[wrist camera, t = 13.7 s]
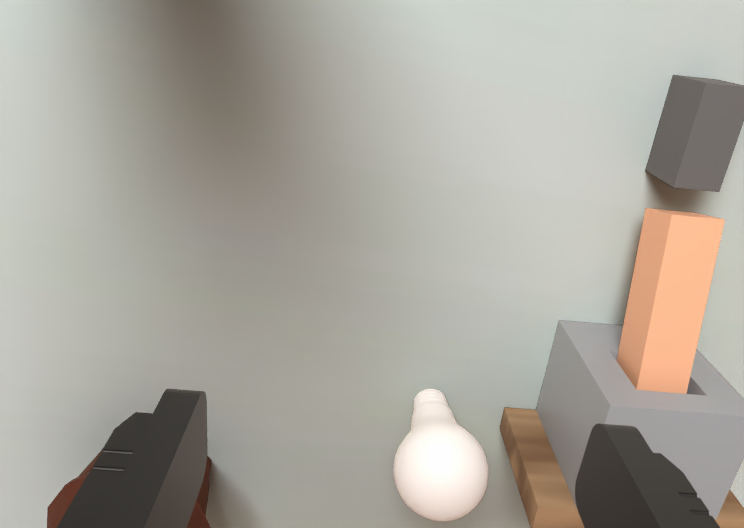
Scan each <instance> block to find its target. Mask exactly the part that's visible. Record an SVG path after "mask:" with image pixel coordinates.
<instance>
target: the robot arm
mask: <svg viewBox="0 0 744 528" xmlns="http://www.w3.org/2000/svg"><path fill="white" fill-rule="evenodd" d="M206 461H207V401H206V394H205V392H203V391H190V390H177V389H167V390H166V391H165V392H164V394H163V395H162V397H161V399H160V401H159V403H158V405H157V407H156V409H155V411H154V413H153V414H151V413H138V412H136V413H134V414H133V415H132V416H131V417H129V418H128V419H127V420H125V421H124V422H123V423H122V424H120V425H119V426H118V427H117V428H115V429H114V431H113V433H112V435H111V436H110V438H109V440H108V441H107V443H106V445H105V446H104V448H103V452H102V453H100V455H99V457H98V458H97V460H96V462H95V463H94V465H93V469H92V470H90V472H89V473H88V475H87V477H86V479H85V480H84V482H83V484H82V485H81V487H80V489H79V490H78V492H77V494H76V495H75V497H74V499H73V500H72V502H71V504H70V506H69V507H68V509H67V511H66V512H65V514H64V516H63V517H62V519H61V521H60V522H59V524H58V526H57V528H187V526H188V523H189V520H190V517H191V514H192V511H193V508H194V506H195V503H196V500H197V497H198V494H199V491H200V488H201V485H202V482H203V478H204V474H205V468H206ZM575 500H576V506H577V510H578V512H579V515H580V517H581V520H582V522H583V525H584V527H585V528H720V527H719V525H718V524H717V522H716V521H715V519H714V518H713V516H710V515H709V510H708V509H707V507H706V506H705V504H704V503H703V501H702V500H701V498H698V497H697V492H696V491H695V489H694V488H693V486H692V485H691V483H690V482H689V480H688V479H687V477H686V476H685V474H684V473H683V472H682V471H681V470H680V469H679V468H677V467H676V466H675V465H674V464H673V463H672V462H670V461H669V460H668V459H667V458H666V457H665V456H663V455H662V454H661V453H653V452H652V450H651V449H650V447H649V446H648V444H647V443H646V441H645V439H644V438H643V436H642V435H641V433H640V432H639V430H638V429H637V428H636V427H634V426H626V425H613V424H600V423H598V424H596V425H594V427H593V428H592V430H591V433H590V436H589V439H588V443H587V446H586V449H585V452H584V456H583V459H582V462H581V465H580V469H579V472H578V475H577V479H576V484H575Z"/></svg>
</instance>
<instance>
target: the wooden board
mask: <svg viewBox="0 0 744 528" xmlns="http://www.w3.org/2000/svg"><path fill="white" fill-rule="evenodd" d="M500 430H501V434H502V437H503V440H504V443H505V447H506V450H507V453H508V456H509V459H510V463H511V466H512V469H513V472H514V476H515V479H516V482H517V485H518V489H519V492H520V495H521V498H522V501H523V505H524V508H525V511H526V514H527V518H528V521H529V524H530V527H531V528H585V527H584V525H583V522H582V520H581V517H580V515H579V512H578V510H577V508H576V505H575V503H574V500H573V498H572V496H571V493H570V491H569V488H568V486H567V483H566V481H565V479H564V476H563V474H562V471H561V469H560V466H559V464H558V462H557V459H556V457H555V454H554V452H553V450H552V447H551V445H550V442H549V440H548V437H547V435H546V433H545V430H544V428H543V425H542V423H541V420H540V418H539V416H538V413H537V411H536V410H532V409H519V408H506V407H504V412H503V416H502V420H501V425H500ZM715 521H716V522H717V524H718V525H719V527H720V528H744V508H743V507H742V505H741V504H740V502H739V501H738V500H737V498H736V497H735V496H734V494H733V493H732V492H731V490H729V492H728V494H727V496H726V499H725V501H724V503H723V505H722V508H721V510H720V512H719V514H718V517H717V519H715Z"/></svg>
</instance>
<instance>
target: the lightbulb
mask: <svg viewBox="0 0 744 528" xmlns="http://www.w3.org/2000/svg"><path fill="white" fill-rule="evenodd" d="M413 409H414V413H413V415H412V419H411V430H410V432H409V433H408V434H407V435H406V437H405V438H404V440H403V441H402V443H401V444H400V446H399V447H398V450H397V452H396V456H395V460H394V466H393V470H394V480H395V483H396V486H397V489H398V492H399V494H400V496H401V497H402V499H403V500H404V502H405V503H406V504H407V505H408V506H409V507H410V508H411V509H412V510H413V511H414V512H416V513H417V514H419V515H421V516H423V517H425V518H428V519H430V520H435V521H451V520H456V519H458V518H461V517H463V516H465V515H466V514H468V513H469V512H470V511H471V510H473V509H474V508H475V507H476V506H477V504H478V503H479V502H480V500H481V499H482V497H483V495H484V493H485V491H486V486H487V482H488V463H487V459H486V456H485V453H484V451H483V449H482V447H481V446H480V444H479V442H478V441H477V440H476V439H475V437H474V436H473V435H472V434H470V433H469V432H468V431H467V430H465V429H464V428H463V427H461V426H460V425H458V424H457V422H456V421H455V418H454V415H453V412H452V411H451V409H450V408H449V406H448V403H447V400H446V397H445V395H444V394H443V393H442V392H440V391H439V390H436V389H425V390H423V391H421V392H419V393H418V394H417V395H416V397H415V399H414V408H413Z"/></svg>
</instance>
